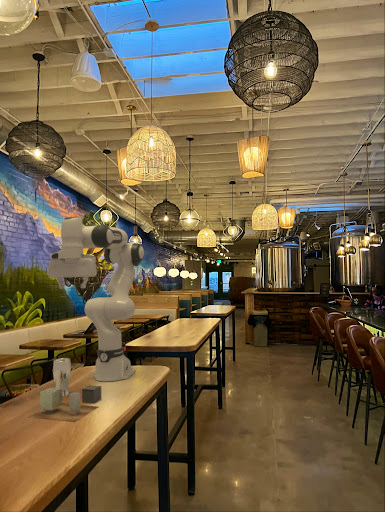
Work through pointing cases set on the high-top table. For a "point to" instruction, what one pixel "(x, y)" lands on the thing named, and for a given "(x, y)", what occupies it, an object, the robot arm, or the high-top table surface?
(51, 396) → the pale green block
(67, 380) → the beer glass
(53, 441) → the high-top table surface
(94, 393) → the dark grey paneled cube
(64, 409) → the walnut board
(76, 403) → the steel post
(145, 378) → the high-top table surface
